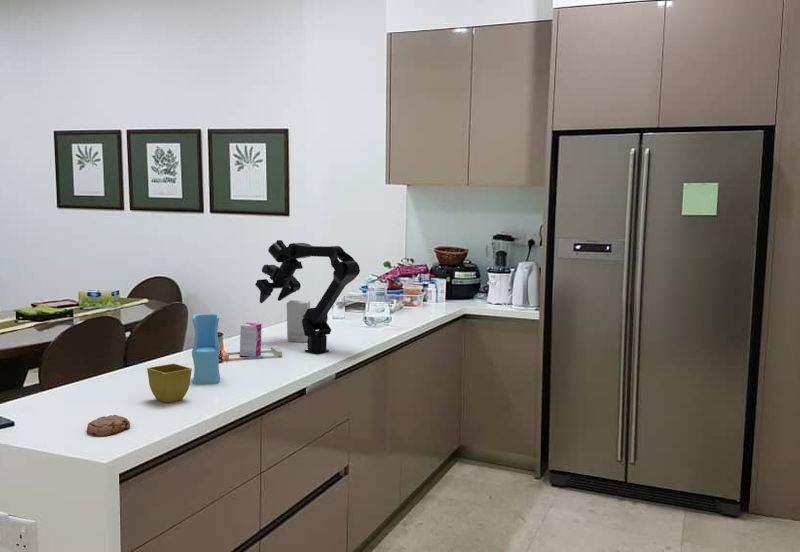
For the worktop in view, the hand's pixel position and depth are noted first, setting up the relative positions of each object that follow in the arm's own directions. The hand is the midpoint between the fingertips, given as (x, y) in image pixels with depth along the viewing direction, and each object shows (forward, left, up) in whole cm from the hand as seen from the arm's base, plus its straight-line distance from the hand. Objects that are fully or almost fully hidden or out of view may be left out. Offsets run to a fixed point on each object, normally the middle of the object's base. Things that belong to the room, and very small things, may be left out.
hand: (269, 301), depth 282 cm
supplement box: (-13, +22, -16) cm, 30 cm away
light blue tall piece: (-28, +54, -16) cm, 63 cm away
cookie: (-47, +99, -16) cm, 111 cm away
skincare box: (-6, -9, -16) cm, 20 cm away
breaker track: (-13, +22, -16) cm, 30 cm away
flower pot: (-37, +74, -16) cm, 84 cm away
